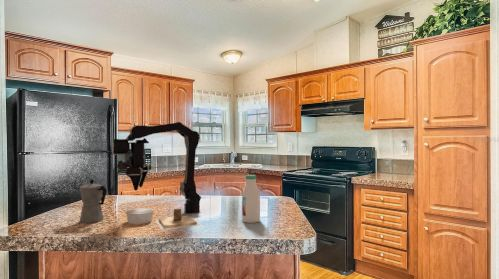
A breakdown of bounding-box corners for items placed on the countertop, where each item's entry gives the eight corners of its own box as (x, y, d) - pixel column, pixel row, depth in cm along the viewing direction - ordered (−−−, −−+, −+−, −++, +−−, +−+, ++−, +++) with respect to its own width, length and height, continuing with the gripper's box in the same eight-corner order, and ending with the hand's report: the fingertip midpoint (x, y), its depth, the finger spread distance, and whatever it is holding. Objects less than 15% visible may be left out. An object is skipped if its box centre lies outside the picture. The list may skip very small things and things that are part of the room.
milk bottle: (262, 219, 137) (262, 174, 138) (256, 224, 130) (256, 176, 130) (245, 218, 140) (245, 173, 140) (239, 222, 133) (239, 175, 133)
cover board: (188, 217, 139) (188, 205, 139) (196, 224, 127) (196, 210, 127) (158, 220, 133) (159, 207, 133) (164, 228, 122) (164, 214, 122)
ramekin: (144, 227, 126) (144, 214, 126) (120, 225, 128) (120, 212, 128) (158, 220, 137) (158, 208, 137) (135, 219, 139) (135, 207, 139)
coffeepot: (71, 221, 134) (71, 179, 135) (90, 216, 143) (91, 177, 143) (96, 225, 128) (96, 181, 128) (114, 220, 136) (115, 179, 137)
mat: (191, 217, 141) (191, 216, 141) (201, 226, 126) (201, 224, 126) (154, 221, 134) (154, 220, 134) (161, 231, 120) (161, 229, 120)
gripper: (124, 153, 147) (125, 186, 147) (112, 155, 128) (112, 192, 128) (148, 152, 148) (149, 185, 148) (140, 154, 130) (140, 191, 130)
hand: (138, 188), depth 139 cm, fingers open, 9 cm apart
